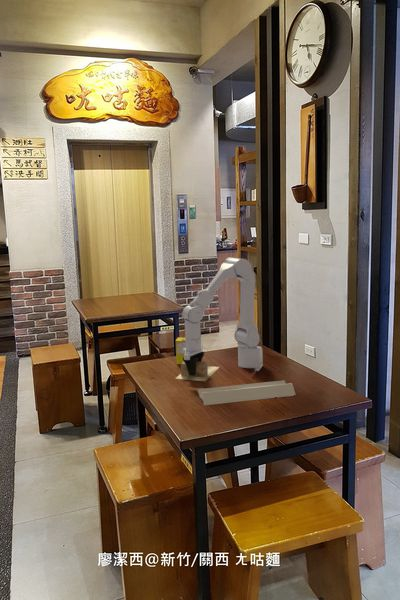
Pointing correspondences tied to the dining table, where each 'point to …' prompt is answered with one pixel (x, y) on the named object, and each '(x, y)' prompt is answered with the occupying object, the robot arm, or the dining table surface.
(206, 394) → the crown molding
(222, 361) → the dining table surface
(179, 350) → the supplement box
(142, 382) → the dining table surface
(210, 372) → the birch board
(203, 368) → the block
